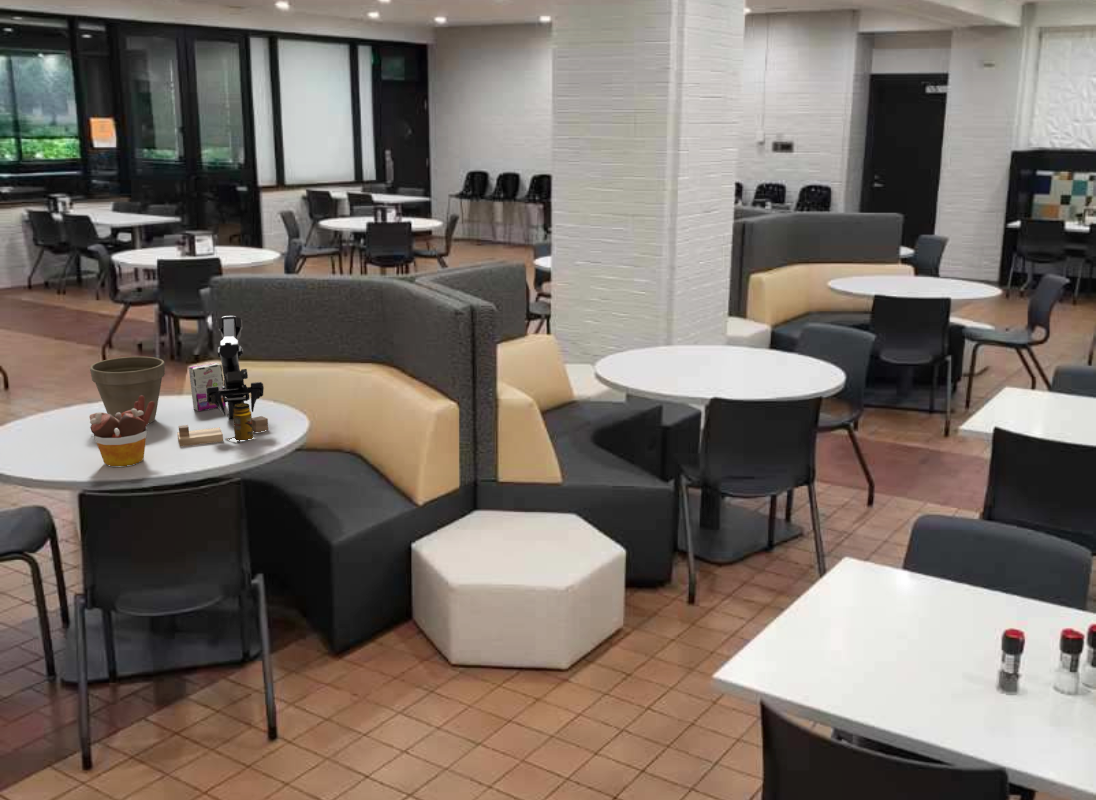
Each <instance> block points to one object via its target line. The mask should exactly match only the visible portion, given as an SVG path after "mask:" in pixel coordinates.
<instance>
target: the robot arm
mask: <svg viewBox="0 0 1096 800" xmlns="http://www.w3.org/2000/svg"><path fill="white" fill-rule="evenodd" d="M217 326H218V331H219V332H220V334H221V337H222V339H221V340H220V342H219V346H218V347H217V357H218V358H220V362H221V363H220V364H221V366H222V375H223V384H224V386H222V390H219V388H218V386H215V387H208V388H207V389H206V397H207V402H211V403H212V404H215V405H216V406H217V407H218V408H217V409H219V410H220V411H221V413H222V414H223V416H226V417H227V418H228V420H233V413H234V411H233V410H234V408H233V406H234V405H235V404H239V403H245V402H248V401H249V400H250V407H251V408H250V411H251V413H253V412H254V408H255V405H256V402H257V400H258V399H260V398H261V397H263V396H264V392H265V391H264V389H265V388H264V387H265V386H264V383H263V382H262V381H257V382H256V381H255V382H250V386H247V383H246V384H245V381H244V380H247V379H248V377H249V376H248V370H247V369H248V368H242V369H241V367H240V363H239V359H240V358H241V356H243V354H244V349H243V347H242V346H241V345H239V340H240V338H241V336H242V330H243V320H242V318H241V317H237V316H236V315H223V316H221V317H220V318H218V319H217ZM221 396H223V401H224V403H225V402H226V403H227V411H228V413H227V414H226V409H225V406H223V402H222V399H221Z"/></svg>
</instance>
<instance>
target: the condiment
mask: <svg viewBox="0 0 1096 800" xmlns="http://www.w3.org/2000/svg"><path fill="white" fill-rule="evenodd" d="M233 408H234V410H233V411H234V413H233V419H232V421H233V428H234V429H233V430H234V436H232V437H228V438H227V437H226V438H225V440H226V441H228V439H229V440H230V439H232V438H235V439H236V440H239V441H240V440H248V439H252V438H253V437H254V432H253V427H252V418H253V417H252V410H251V408H250V404H249V403H245V402H244V403H239V404H235V405H234V406H233Z"/></svg>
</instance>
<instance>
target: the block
mask: <svg viewBox="0 0 1096 800" xmlns="http://www.w3.org/2000/svg"><path fill="white" fill-rule="evenodd" d="M268 420H269V418H268V417H265V416H262V415H261V416H256V417H252V427H253V431H254V432H253V433H255V432H261V431H265V430H269V421H268ZM265 432H266V431H265ZM261 433H262V432H261Z"/></svg>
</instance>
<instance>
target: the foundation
mask: <svg viewBox="0 0 1096 800" xmlns="http://www.w3.org/2000/svg"><path fill="white" fill-rule="evenodd" d="M177 441H178V444H179V447H187V446H188V447H189V446H195V445H203V444H205V445H206V444H213V443H220V442H221V441H222V442H224V435H223V431H222V430H221V427H214V428H213V427H212V428H211V427H210V428H203V429H195V430H190V429H189V424H184V425H183V424H181V425H178V432H177ZM222 442H221V443H222Z"/></svg>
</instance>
